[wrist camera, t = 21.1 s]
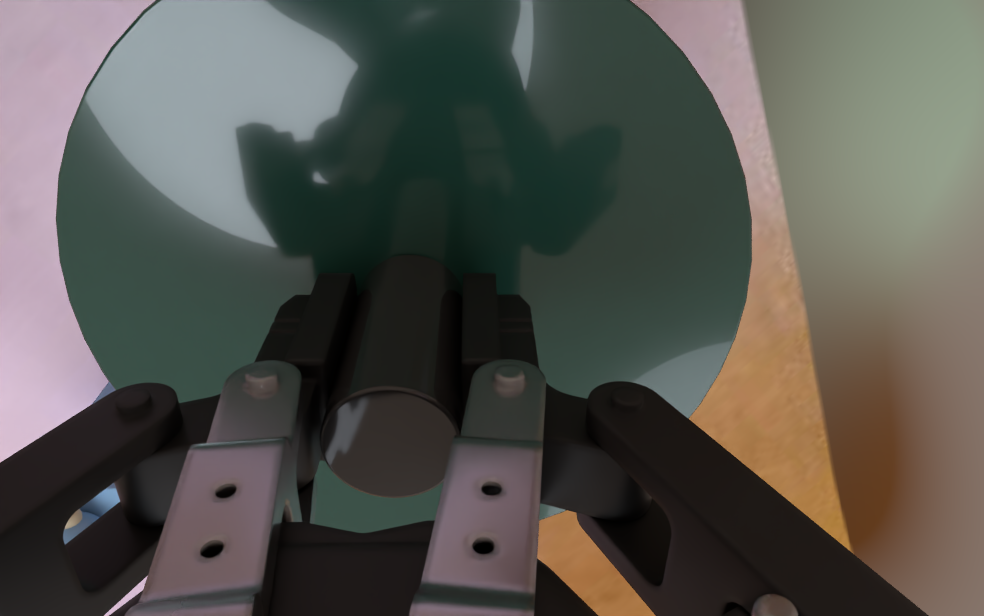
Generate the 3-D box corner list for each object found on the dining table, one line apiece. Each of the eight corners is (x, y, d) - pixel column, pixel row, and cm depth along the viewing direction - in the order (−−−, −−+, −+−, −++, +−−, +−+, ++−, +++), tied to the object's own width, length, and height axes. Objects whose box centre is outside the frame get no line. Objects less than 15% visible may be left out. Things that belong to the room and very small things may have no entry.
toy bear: (112, 377, 40) (-13, 543, 29) (185, 377, 40) (87, 543, 29) (129, 439, 42) (20, 614, 31) (199, 439, 42) (112, 614, 32)
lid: (-19, -92, 13) (-346, -87, 8) (804, -80, 14) (1013, -67, 8) (160, 514, 21) (55, 723, 16) (685, 509, 21) (756, 711, 16)
